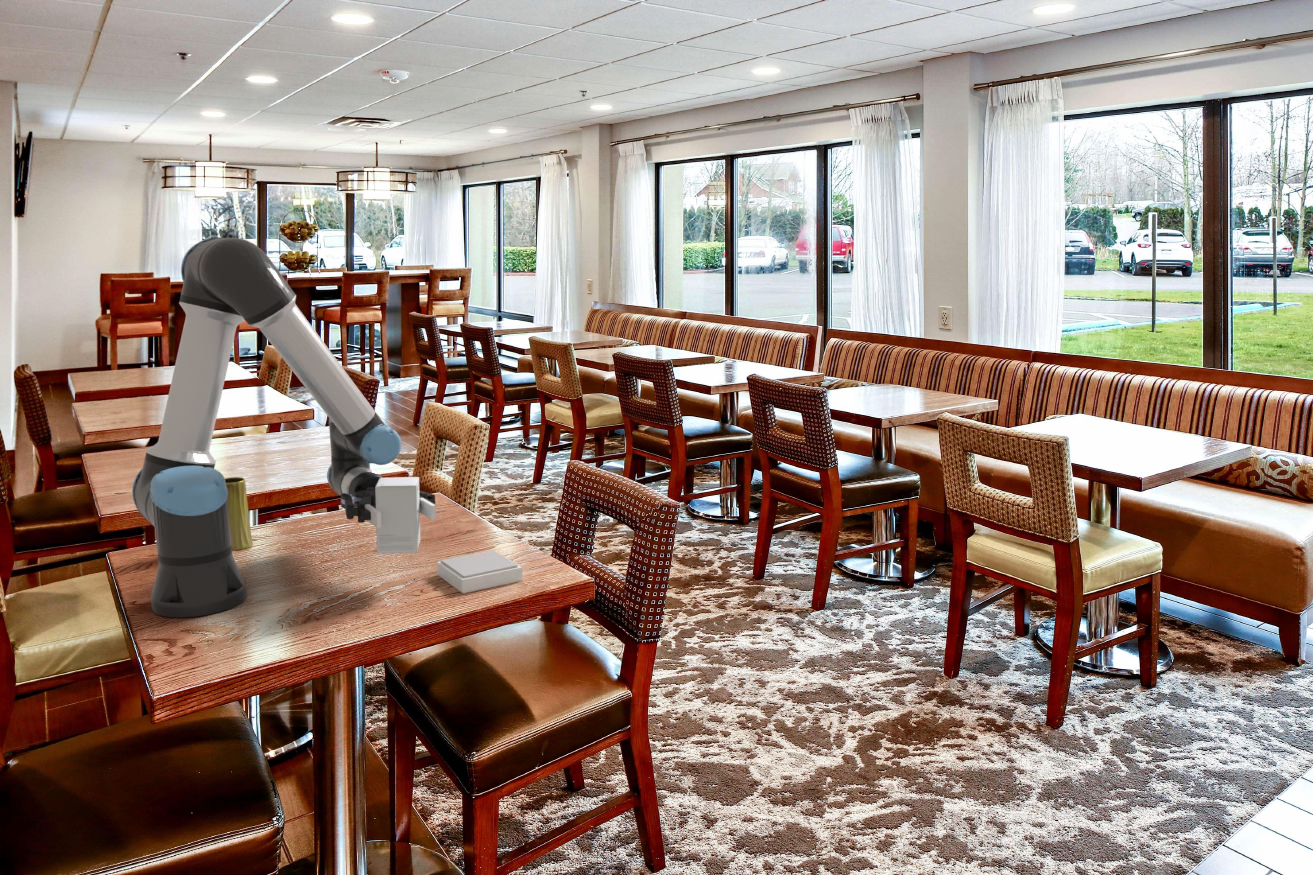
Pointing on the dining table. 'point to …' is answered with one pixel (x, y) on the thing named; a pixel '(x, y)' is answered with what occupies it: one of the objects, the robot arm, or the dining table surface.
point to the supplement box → (398, 515)
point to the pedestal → (479, 571)
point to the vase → (238, 513)
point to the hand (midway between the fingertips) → (407, 516)
